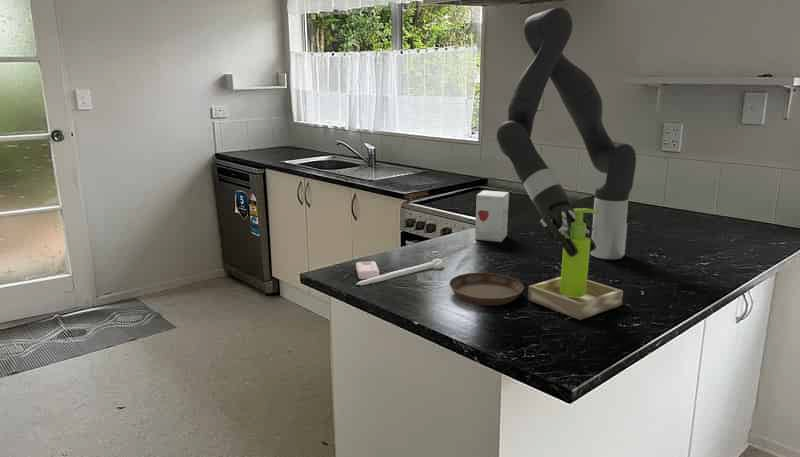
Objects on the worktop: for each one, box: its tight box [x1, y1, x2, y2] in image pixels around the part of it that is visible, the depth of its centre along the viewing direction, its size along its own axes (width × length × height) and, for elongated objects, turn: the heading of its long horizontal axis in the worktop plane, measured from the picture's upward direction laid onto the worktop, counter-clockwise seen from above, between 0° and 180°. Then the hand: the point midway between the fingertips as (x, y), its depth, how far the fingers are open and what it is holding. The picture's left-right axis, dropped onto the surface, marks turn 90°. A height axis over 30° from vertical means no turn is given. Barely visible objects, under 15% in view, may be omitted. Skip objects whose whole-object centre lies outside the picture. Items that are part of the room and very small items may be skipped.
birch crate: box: [527, 276, 624, 321], centre depth 139 cm, size 15×15×4 cm
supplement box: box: [474, 189, 510, 243], centre depth 195 cm, size 9×9×15 cm
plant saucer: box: [448, 272, 524, 307], centre depth 144 cm, size 18×18×3 cm
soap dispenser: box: [560, 207, 598, 297], centre depth 136 cm, size 6×7×20 cm
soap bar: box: [355, 260, 380, 280], centre depth 161 cm, size 5×9×2 cm, turn 9°
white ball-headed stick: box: [355, 258, 445, 286], centre depth 158 cm, size 28×4×3 cm, turn 128°
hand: (583, 252), depth 135 cm, fingers closed on soap dispenser, 6 cm apart
